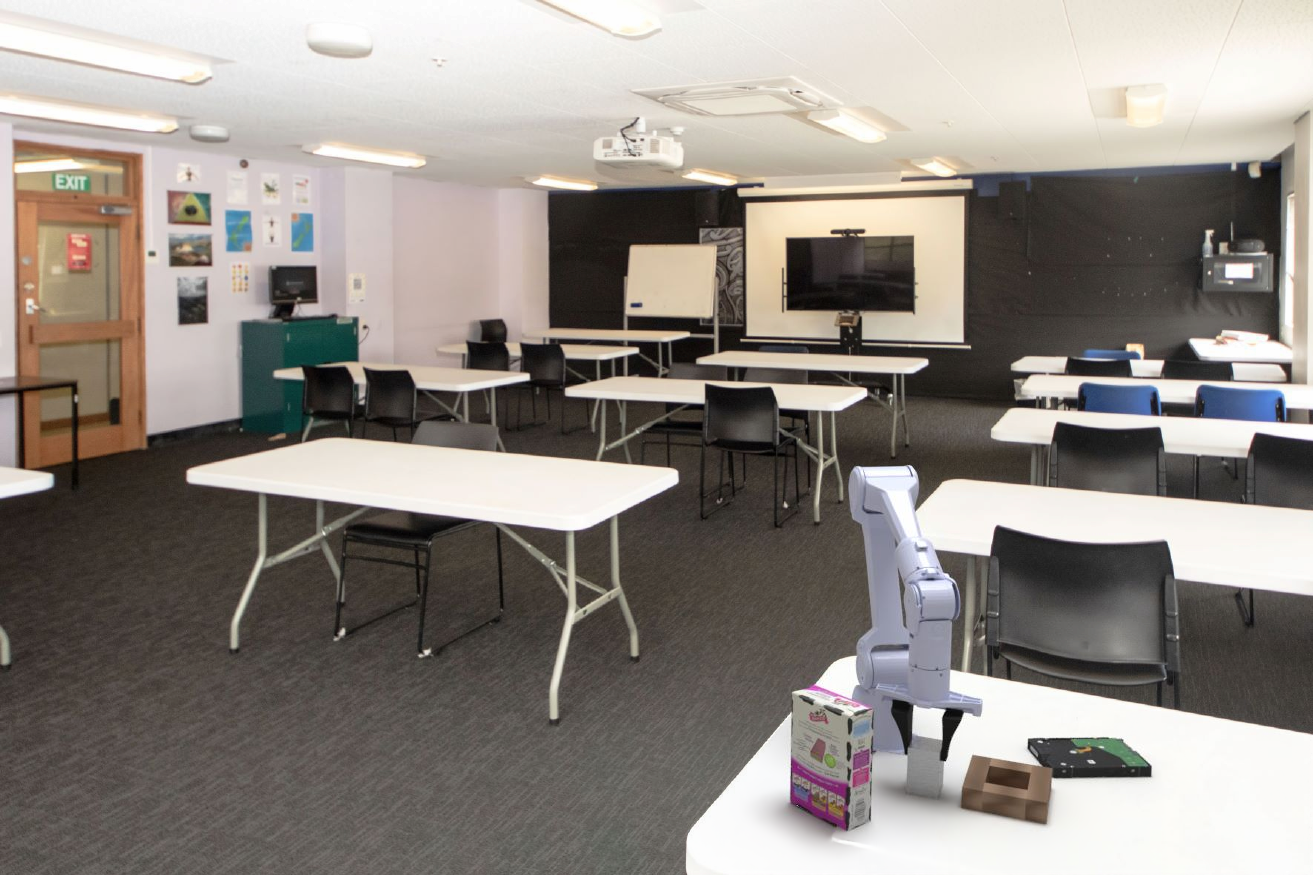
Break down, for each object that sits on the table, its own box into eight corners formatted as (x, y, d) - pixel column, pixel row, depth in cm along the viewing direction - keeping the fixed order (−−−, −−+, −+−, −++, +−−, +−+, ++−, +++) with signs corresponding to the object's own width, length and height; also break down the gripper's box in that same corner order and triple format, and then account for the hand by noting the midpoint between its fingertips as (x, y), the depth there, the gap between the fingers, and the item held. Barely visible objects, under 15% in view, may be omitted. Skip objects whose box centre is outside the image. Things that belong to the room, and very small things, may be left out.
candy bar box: (873, 823, 141) (876, 707, 139) (847, 835, 138) (850, 716, 136) (813, 791, 150) (815, 682, 148) (788, 802, 147) (789, 690, 144)
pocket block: (961, 811, 144) (962, 787, 144) (971, 776, 154) (972, 754, 154) (1046, 827, 140) (1047, 802, 139) (1051, 791, 150) (1052, 768, 149)
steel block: (906, 794, 148) (907, 747, 147) (912, 780, 152) (913, 735, 151) (938, 800, 146) (939, 752, 145) (942, 786, 150) (944, 740, 149)
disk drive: (1052, 786, 153) (1152, 783, 153) (1053, 768, 152) (1153, 764, 153) (1025, 754, 163) (1119, 751, 163) (1026, 737, 162) (1120, 734, 163)
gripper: (871, 665, 146) (869, 757, 148) (979, 680, 140) (975, 776, 142) (882, 649, 152) (879, 737, 154) (985, 663, 147) (981, 755, 149)
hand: (926, 755), depth 149 cm, fingers closed on steel block, 4 cm apart
